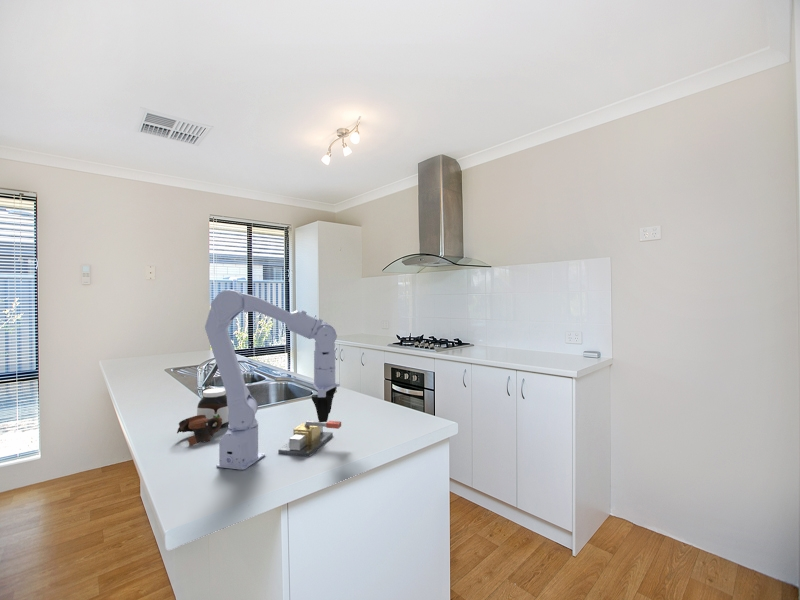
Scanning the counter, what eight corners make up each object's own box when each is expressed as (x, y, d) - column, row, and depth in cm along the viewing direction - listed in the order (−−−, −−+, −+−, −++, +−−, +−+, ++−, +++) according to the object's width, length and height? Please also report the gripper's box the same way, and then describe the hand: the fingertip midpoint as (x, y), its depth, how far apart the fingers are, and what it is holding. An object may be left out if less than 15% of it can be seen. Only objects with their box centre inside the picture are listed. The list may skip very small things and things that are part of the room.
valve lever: (303, 427, 111) (303, 421, 111) (306, 424, 113) (306, 419, 113) (338, 429, 109) (338, 424, 109) (341, 427, 111) (341, 421, 111)
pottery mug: (177, 450, 109) (171, 422, 111) (185, 453, 117) (179, 427, 120) (223, 433, 113) (216, 406, 116) (227, 438, 122) (221, 412, 124)
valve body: (309, 456, 103) (309, 437, 103) (278, 453, 105) (278, 434, 105) (332, 435, 119) (332, 419, 119) (305, 433, 121) (305, 417, 121)
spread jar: (194, 431, 123) (194, 394, 123) (202, 420, 134) (202, 386, 134) (235, 427, 126) (235, 391, 126) (239, 417, 137) (239, 384, 137)
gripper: (337, 372, 99) (337, 425, 99) (341, 363, 114) (341, 409, 114) (309, 372, 99) (309, 426, 99) (316, 363, 113) (316, 410, 113)
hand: (324, 417), depth 106 cm, fingers open, 7 cm apart
